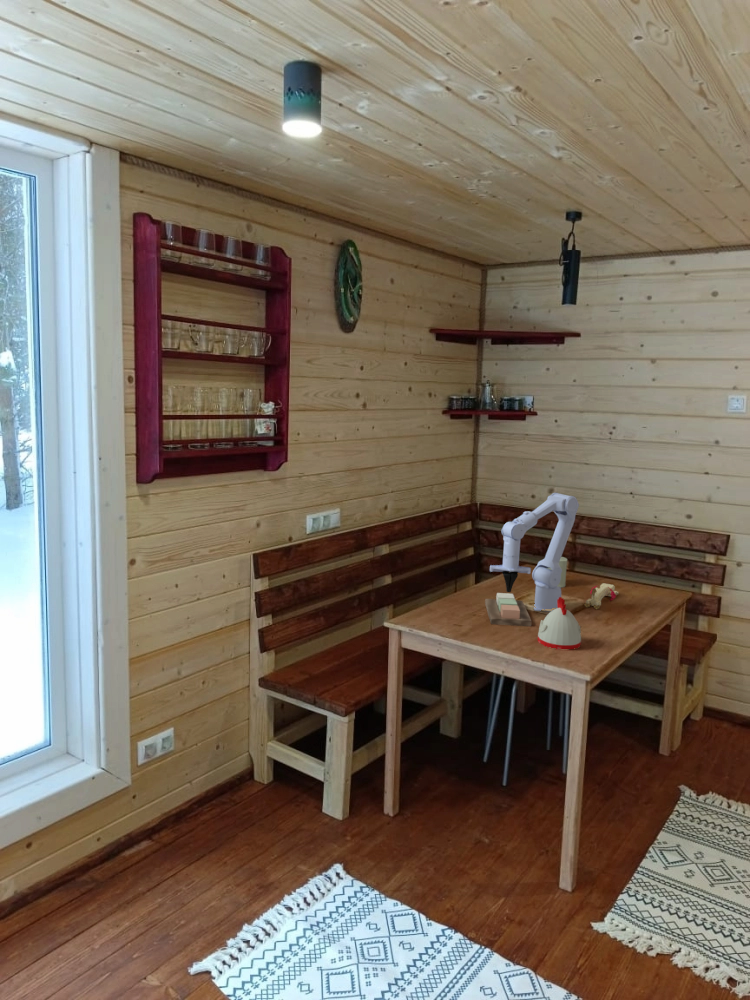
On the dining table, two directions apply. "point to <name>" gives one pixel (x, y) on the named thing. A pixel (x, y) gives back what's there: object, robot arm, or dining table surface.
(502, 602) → the sage button
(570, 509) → the robot arm
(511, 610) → the terracotta button
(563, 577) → the pale green cup
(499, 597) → the cream button
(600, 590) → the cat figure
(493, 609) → the brown tray
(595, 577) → the dining table surface
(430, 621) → the dining table surface
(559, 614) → the kitchen timer
